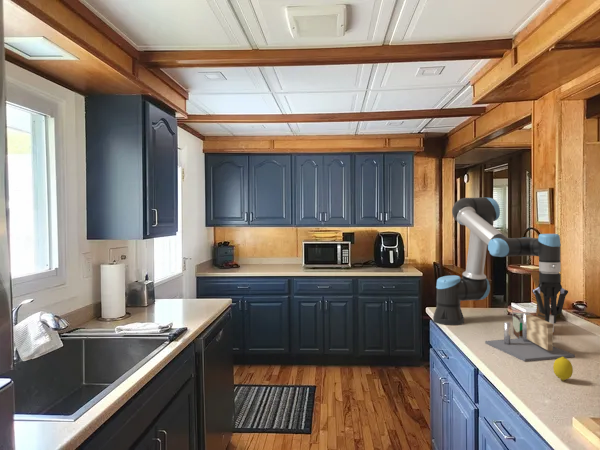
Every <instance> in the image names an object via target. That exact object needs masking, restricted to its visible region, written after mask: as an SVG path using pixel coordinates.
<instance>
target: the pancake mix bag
mask: <svg viewBox="0 0 600 450" xmlns="http://www.w3.org/2000/svg"><path fill="white" fill-rule="evenodd" d="M539 273H540V271H535V270H532V271H531V272H530V275H531V278H532V281H533V283H534V287H535V289H537V288H538V285H539ZM540 296H541V299H542V302H543V306H544V297H543V293H542V292H541V291H540ZM550 314H551V309H550ZM535 316H536V317H538V318H540V319H542V320H545V315H544V314H542V313H540V311H539V308H538V304H537V303H536V310H535Z"/></svg>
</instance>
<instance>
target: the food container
mask: <svg viewBox="0 0 600 450" xmlns="http://www.w3.org/2000/svg"><path fill="white" fill-rule="evenodd" d="M512 334H513V336H514V335H515V336H514V337H515V338H516V339H517V338H523V312H516V311H515V312H514V311H512Z"/></svg>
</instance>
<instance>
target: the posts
mask: <svg viewBox="0 0 600 450" xmlns="http://www.w3.org/2000/svg"><path fill="white" fill-rule="evenodd" d="M522 313H523V341H525V342H530V340H528V339H527V318H526V315H531V312H528V311H527V312H526V311H525V312H523V311H522ZM510 339H511V322H509V321H504V322H503V340H504V344H506V345H510Z"/></svg>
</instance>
